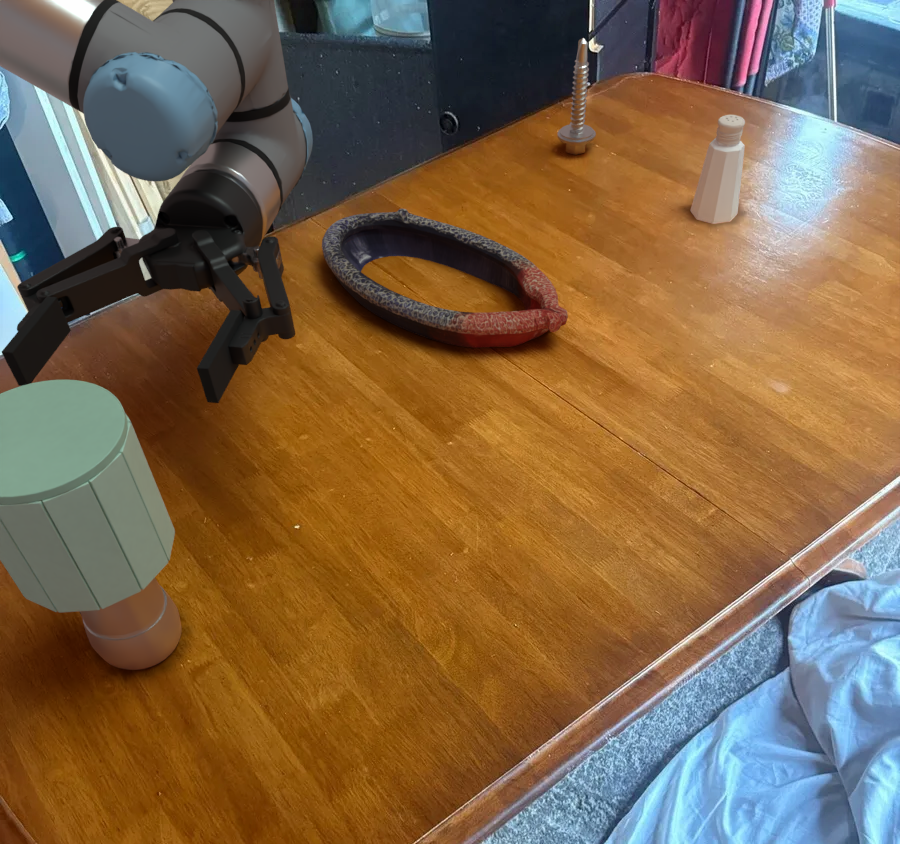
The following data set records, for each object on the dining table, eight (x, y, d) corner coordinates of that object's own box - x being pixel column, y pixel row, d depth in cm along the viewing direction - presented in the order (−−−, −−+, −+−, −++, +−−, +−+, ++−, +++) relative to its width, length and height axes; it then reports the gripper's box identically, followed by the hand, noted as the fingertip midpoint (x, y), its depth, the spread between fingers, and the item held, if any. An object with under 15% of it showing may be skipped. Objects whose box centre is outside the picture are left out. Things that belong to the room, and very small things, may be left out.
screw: (570, 138, 117) (601, 147, 115) (549, 152, 115) (581, 162, 113) (577, 27, 107) (611, 35, 105) (554, 40, 105) (589, 48, 103)
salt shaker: (711, 236, 100) (731, 135, 92) (678, 216, 103) (695, 117, 95) (746, 221, 102) (769, 120, 94) (713, 202, 105) (732, 103, 97)
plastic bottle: (149, 695, 64) (38, 495, 49) (81, 659, 66) (-45, 457, 51) (206, 632, 68) (120, 427, 52) (140, 599, 70) (38, 394, 54)
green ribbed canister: (-18, 579, 58) (-98, 464, 50) (89, 480, 63) (32, 362, 55) (103, 633, 54) (37, 519, 47) (204, 524, 60) (160, 405, 52)
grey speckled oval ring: (390, 227, 104) (385, 185, 101) (601, 324, 91) (606, 280, 87) (289, 284, 98) (281, 241, 94) (501, 399, 84) (502, 354, 80)
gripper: (375, 267, 73) (301, 438, 60) (92, 249, 76) (-36, 407, 63) (364, 175, 67) (280, 342, 54) (58, 160, 70) (-90, 314, 57)
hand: (109, 378), depth 58 cm, fingers open, 13 cm apart
